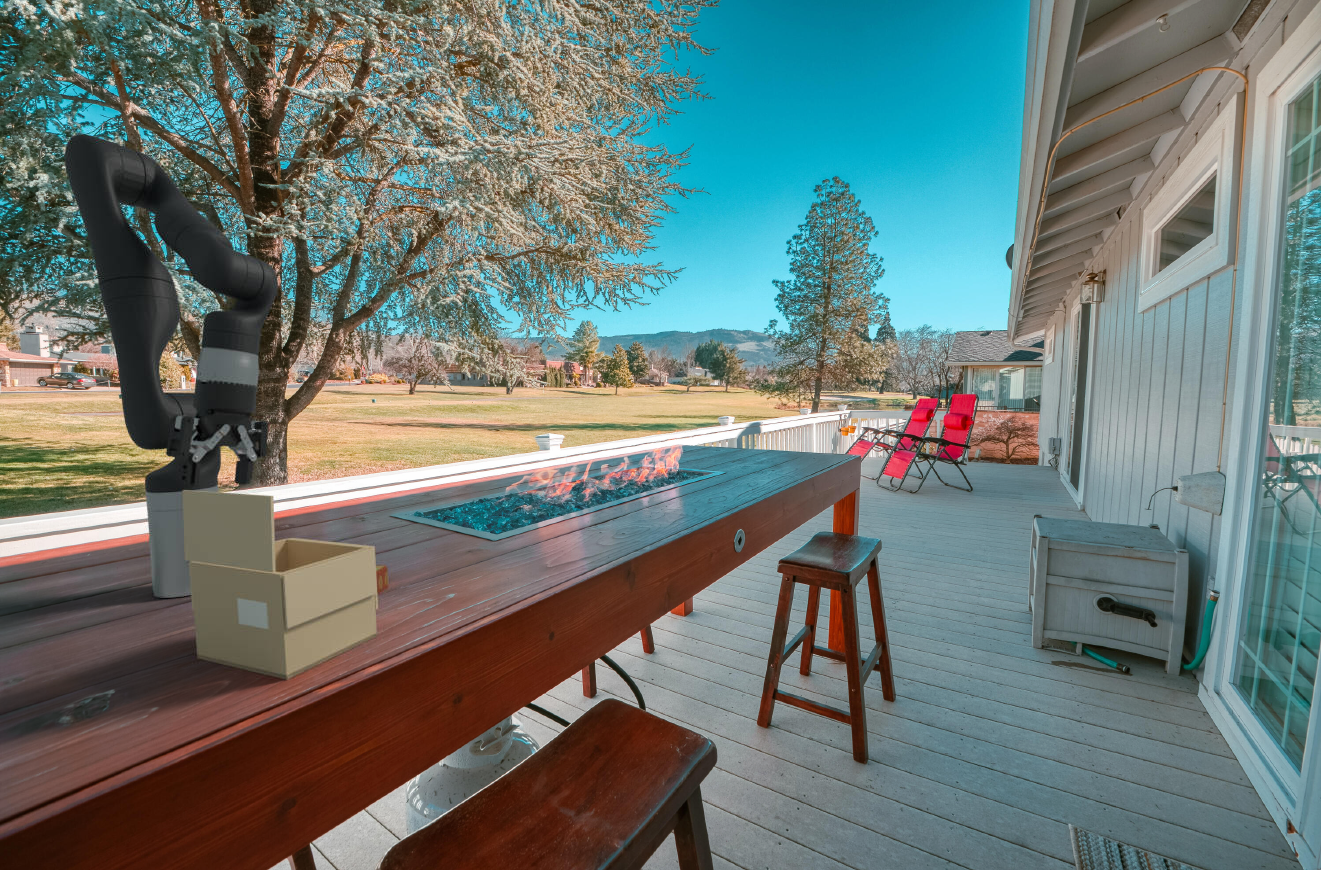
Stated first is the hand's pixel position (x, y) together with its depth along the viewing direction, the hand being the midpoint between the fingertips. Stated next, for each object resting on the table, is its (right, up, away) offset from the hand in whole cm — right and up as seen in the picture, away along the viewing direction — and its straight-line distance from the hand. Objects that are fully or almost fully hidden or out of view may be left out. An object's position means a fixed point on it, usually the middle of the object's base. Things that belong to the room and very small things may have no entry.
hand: (217, 485), depth 85 cm
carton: (+15, -19, +4) cm, 24 cm away
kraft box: (+21, -19, -15) cm, 32 cm away
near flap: (+18, -3, -22) cm, 29 cm away
